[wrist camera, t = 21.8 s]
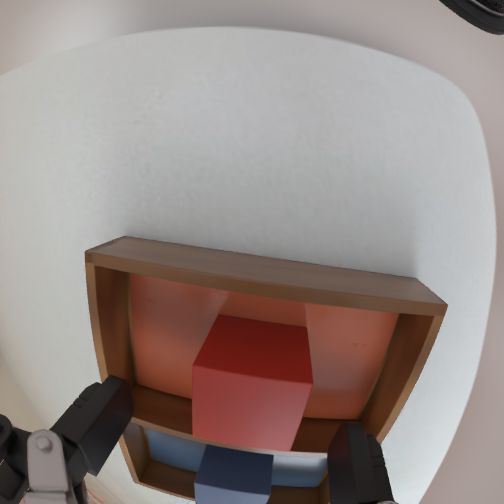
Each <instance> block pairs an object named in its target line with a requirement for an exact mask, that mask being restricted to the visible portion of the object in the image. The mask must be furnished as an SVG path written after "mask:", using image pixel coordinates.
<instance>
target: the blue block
mask: <svg viewBox="0 0 504 504" xmlns="http://www.w3.org/2000/svg"><path fill="white" fill-rule="evenodd" d="M273 460H274V455H271V454H262V453H255V452H248V451H241V450H235V449H230V448H224V447H219V446H214V445H209V444H206V447H205V450H204V453H203V456H202V459H201V463H200V466H199V469H198V472H197V475H196V478H195V481H194V488H195V501H196V504H266V503H267V501H268V499H269V497H270V492H271V482H272V471H273Z"/></svg>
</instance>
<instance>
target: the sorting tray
mask: <svg viewBox="0 0 504 504" xmlns="http://www.w3.org/2000/svg"><path fill="white" fill-rule="evenodd" d="M85 268H86V283H87V294H88V304H89V313H90V321H91V328H92V334H93V341H94V346H95V352H96V357H97V363H98V367H99V372H100V377H101V381H102V383H103V382H104V380H105V379H106V378H107V377H108V376H109V375H114V376H117V377H119V378H122V379H125V380H128V381H129V383H130V387H131V393H132V399H133V404H134V412H133V416H132V419H131V421H130V422H129V424H128V425H127V427H126V429H125V430H124V432H123V434H122V435H121V437H120V439H119V440H118V441H119V444H120V447H121V450H122V453H123V456H124V458H125V461H126V464H127V466H128V469H129V471H130V474H131V476H132V478H133V481H134V482H135V483H137V484H140V485H143V486H146V487H149V488H151V489H154V490H157V491H161V492H164V493H167V494H170V495H174V496H177V497H181V498H185V499H188V500H192V501H195V488H194V481H195V478H196V475H197V472H198V469H199V466H200V463H201V459H202V456H203V453H204V450H205V447H206V444H209V445H214V446H219V447H224V448H230V449H235V450H241V451H248V452H255V453H262V454H271V455H274V460H273V471H272V482H271V492H270V497H269V499H268V501H267V503H266V504H330V497H329V481H328V466H327V451H328V447H329V445H330V443H331V441H332V439H333V437H334V435H335V433H336V432H337V430H338V428H339V426H340V424H341V423H342V422H362V423H363V424H364V428H365V432H366V435H373V436H374V437H375V438H376V440H377V441H378V442H379V443H380V444H381V443H382V441H383V440H384V438H385V437H386V435H387V434H388V432H389V430H390V429H391V427H392V426H393V424H394V422H395V421H396V419H397V417H398V415H399V414H400V412H401V410H402V408H403V407H404V405H405V403H406V401H407V399H408V397H409V396H410V394H411V392H412V390H413V388H414V386H415V384H416V382H417V380H418V378H419V376H420V374H421V372H422V369H423V367H424V365H425V363H426V361H427V358H428V356H429V354H430V352H431V349H432V347H433V344H434V342H435V339H436V337H437V334H438V332H439V329H440V327H441V324H442V321H443V318H444V316H445V313H446V310H447V307H448V304H447V303H445V302H444V301H443V300H442V299H441V298H440V297H438V296H437V295H436V294H435V293H434V292H432V291H431V290H430V289H429V288H427V287H426V286H425V285H424V284H423V283H421V282H420V281H419V280H418V279H416V278H408V277H401V276H394V275H387V274H380V273H373V272H366V271H359V270H352V269H345V268H338V267H331V266H325V265H318V264H311V263H304V262H297V261H290V260H283V259H276V258H269V257H263V256H256V255H249V254H242V253H235V252H228V251H222V250H215V249H208V248H201V247H194V246H188V245H181V244H174V243H167V242H161V241H154V240H147V239H141V238H134V237H127V236H122V237H120V238H117V239H114V240H112V241H109V242H106V243H104V244H101V245H99V246H96V247H94V248H91V249H88V250H86V251H85ZM218 314H220V315H226V316H232V317H238V318H244V319H250V320H257V321H263V322H270V323H277V324H285V325H292V326H300V327H307V331H308V339H309V347H310V356H311V364H312V373H313V383H314V385H313V388H312V391H311V394H310V397H309V400H308V403H307V406H306V409H305V412H304V415H303V418H302V421H301V423H300V426H299V429H298V432H297V434H296V437H295V440H294V442H293V445H292V447H291V450H290V452H284V451H273V450H265V449H257V448H250V447H243V446H237V445H231V444H226V443H220V442H215V441H211V440H206V439H201V438H197V437H193V428H192V364H193V363H194V361H195V359H196V357H197V355H198V353H199V351H200V349H201V347H202V345H203V343H204V341H205V339H206V337H207V335H208V333H209V331H210V329H211V327H212V325H213V323H214V321H215V319H216V317H217V315H218Z"/></svg>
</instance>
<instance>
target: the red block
mask: <svg viewBox="0 0 504 504" xmlns="http://www.w3.org/2000/svg"><path fill="white" fill-rule="evenodd" d="M313 385H314V383H313V373H312V364H311V356H310V347H309V339H308V331H307V327H300V326H292V325H285V324H277V323H270V322H263V321H257V320H250V319H244V318H238V317H232V316H226V315H220V314H218V315H217V317H216V319H215V321H214V323H213V325H212V327H211V329H210V331H209V333H208V335H207V337H206V339H205V341H204V343H203V345H202V347H201V349H200V351H199V353H198V355H197V357H196V359H195V361H194V363H193V364H192V428H193V437H197V438H201V439H206V440H211V441H215V442H220V443H226V444H231V445H237V446H243V447H250V448H257V449H265V450H273V451H284V452H290V450H291V447H292V445H293V442H294V440H295V437H296V434H297V432H298V429H299V426H300V423H301V421H302V418H303V415H304V412H305V409H306V406H307V403H308V400H309V397H310V394H311V391H312V388H313Z"/></svg>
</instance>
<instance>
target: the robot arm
mask: <svg viewBox="0 0 504 504" xmlns="http://www.w3.org/2000/svg"><path fill="white" fill-rule="evenodd" d="M466 1H467V2H469V3H470V4H472V5H473V6H475V7H476V8H478V9H479V10H481V11H483V12H485V13H487V14H489V15H491V16H494V17H498V18H503V17H504V0H466ZM133 412H134V404H133V399H132V393H131V387H130V383H129V381H128V380H125V379H122V378H119V377H117V376H114V375H109V376H108V377H107V378H106V379H105V380H104V382H103V383H102V384H100V383H98V382H96V383H94V384H92V385H90V386H88V387H87V388H85V390H84V391H83V392H82V393H81V394H80V395H79V398H77V399H76V400H75V401H74V402H73V405H72V404H71V406H70V407H69V408H68V409H67V410H66V411H65V413H64V414H63V415H62V416H61V417H60V418H59V420H58V421H57V422H56V423H55V424H54V425H53V427H52V428H51V429H49V430H45V429H42V430H37V431H35V432H33V433H31V432H27V431H24V430H21V429H18V428H15V427H13V426H12V424H11V422H10V421H9V419H8V418H7V417H6V416H4V415H2V414H0V463H1V462H2V460H3V459H4V461H3V462H2V463H1V465H0V504H19V503H20V501H21V499H22V498H23V496H24V504H90V501H89V497H88V493H87V489H86V485H85V481H84V476H85V475H86V473H87V472H88V473H90V474H92V475H94V476H97V475H98V473H99V471H100V470H101V468H102V466H103V465H104V463H105V461H106V460H107V458H108V457H109V455H110V453H111V452H112V450H113V448H114V447H115V445H116V443H117V442H118V440H119V439H120V437H121V435H122V434H123V432H124V430H125V429H126V427H127V425H128V424H129V422H130V421H131V419H132V416H133ZM327 466H328V481H329V497H330V504H398V503H396V502H395V501H394V499H393V495H392V491H391V486H390V482H389V477H388V473H387V469H386V467H385V461H384V458H383V453H382V449H381V445H380V443H379V442H378V441H377V440H376V438H375V437H374V436H373V435H366V432H365V428H364V424H363V423H362V422H342V423H341V424H340V426H339V428H338V430H337V432H336V433H335V435H334V437H333V439H332V441H331V443H330V445H329V447H328V451H327ZM28 488H29V490H28Z"/></svg>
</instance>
